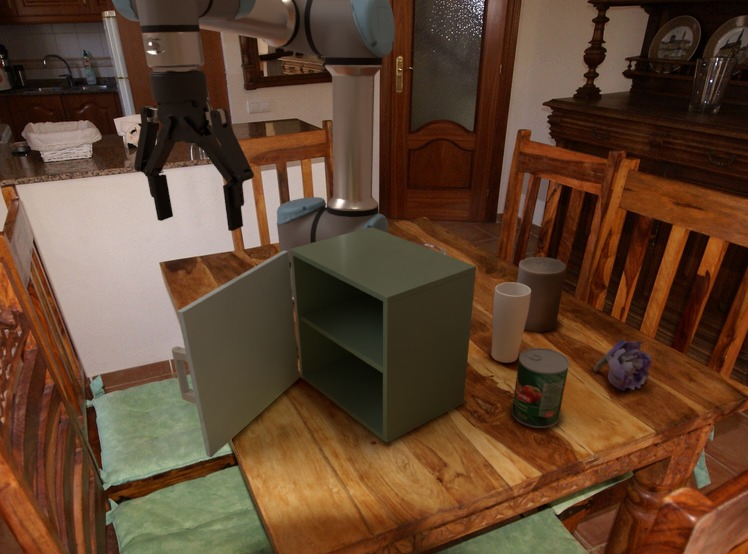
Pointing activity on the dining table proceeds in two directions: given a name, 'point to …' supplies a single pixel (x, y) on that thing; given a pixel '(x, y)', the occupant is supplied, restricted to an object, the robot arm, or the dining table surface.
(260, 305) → the door
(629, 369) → the flower
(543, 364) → the canned tomato
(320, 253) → the cupboard
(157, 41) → the robot arm
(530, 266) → the pillar candle
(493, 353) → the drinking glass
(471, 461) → the dining table surface
